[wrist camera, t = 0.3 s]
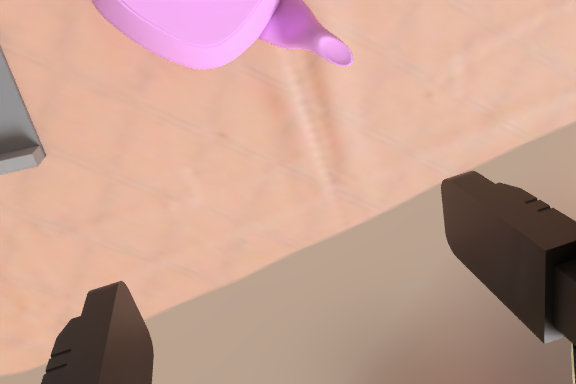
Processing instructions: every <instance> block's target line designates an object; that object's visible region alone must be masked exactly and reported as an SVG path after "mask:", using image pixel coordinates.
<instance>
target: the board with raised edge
mask: <svg viewBox="0 0 576 384" xmlns="http://www.w3.org/2000/svg"><path fill="white" fill-rule="evenodd" d="M45 156H46V154H45V152H44V149H43V147H42V145H41V142H40V140H39V137H38V135H37V133H36V130H35V128H34V125H33V123H32V121H31V118H30V116H29V113H28V111H27V109H26V106H25V104H24V101H23V99H22V97H21V94H20V92H19V90H18V87H17V85H16V82H15V80H14V78H13V75H12V73H11V70H10V68H9V66H8V63H7V61H6V58H5V56H4V54H3V51H2V49H1V47H0V175H2V174H6V173H11V172H15V171H20V170H24V169H28V168H33V167H37V166H38V165H39V164H40V163H41V161H42V160H43V159H44V158H45Z"/></svg>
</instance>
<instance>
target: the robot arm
mask: <svg viewBox="0 0 576 384" xmlns="http://www.w3.org/2000/svg"><path fill="white" fill-rule="evenodd" d="M441 193H442V202H443V213H444V223H445V233H446V238H447V241H448V244H449V246H450V248H451V250H452V251H453V253H454V255H455V256H456V257H457V258H458V259H459V260H460V261H461V262H462V263H463V264H464V265H465V266H466V267H467V268H468V269H469V270H470V271H471V272H472V273H473V274H474V275H475V276H476V277H477V278H478V279H479V280H480V281H481V282H482V283H483V284H484V285H486V287H487V288H488V289H489V290H490V291H491V292H492V293H493V294H494V295H496V296H497V298H498V299H499V300H500V301H502V302H503V304H504V305H505V306H507V307H508V308H509V309H510V310H511V311H512V312H513V313H514V314H515V315H516V316H517V317H518V318H519V319H520V320H521V321H522V322H523V323H524V324H525V325H526V326H527V327H528V328H529V329H530V330H531V331H532V332H533V333H534V334H535V335H536V336H537V337H538V338H539V339H540V340H541V341H542V342H543V343H544V344H546V343H548V342H551V341H554V340H557V339H560V338H562V337H566V338H567V339H569V340H570V341H571V342H572V351H571V353H572V354H571V357H572V374H573V384H576V221H574V220H572V219H571V218H569V217H568V216H566V215H564V214H562V213H561V212H559V211H558V210H556V209H554V208H550V206H549V205H548V204H546V203H544V202H543V201H541V200H537V198H536V197H534V196H533V195H531V194H529V193H528V192H526V191H524V190H523V189H521V188H517V187H514V186H510V185H506V184H502V183H497V184H495V183H493V182H491V181H490V180H488V179H487V178H485V177H484V176H482V175H480V174H479V173H477V172H475V171H470V172H466V173H463V174H460V175H457V176H454V177H451V178H447V179H445V180H443V181H442V184H441ZM153 357H154V355H153V345H152V340H151V337H150V334H149V331H148V329H147V327H146V325H145V322H144V320H143V318H142V316H141V314H140V312H139V310H138V308H137V306H136V304H135V302H134V300H133V298H132V296H131V293H130V291H129V289H128V287H127V286H126V284H125V283H124V282H122V281H119V282H116V283H113V284H110V285H107V286H103V287H100V288H97V289H94V290H91V291H89V292H88V294H87V297H86V301H85V304H84V307H83V311H82V314H81V316H79V317H76V318H73V319H71V320H70V321H69V323H68V324H67V325H66V326H65V328H64V329H63V330H62V331H61V333H60V334H59V335H58V337H57V338H56V341H55V344H54V347H53V350H52V353H51V359H49V362H48V365H47V368H46V374H44V376H43V379H42V382H41V384H152V372H153Z"/></svg>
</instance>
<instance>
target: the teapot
mask: <svg viewBox="0 0 576 384" xmlns="http://www.w3.org/2000/svg"><path fill="white" fill-rule="evenodd" d="M92 2H93V4H94V5H95V7H96V9H97V10H98V11H99V12H100V14H101V15H102V16H103V17H104V18H105V19H106V20H107V21H108V22H109V23H111V24H112V25H113V26H114V27H115V28H117V29H118V30H119V31H120V32H122V33H123V34H124V35H126V36H127V37H128V38H130V39H131V40H133V41H134V42H136V43H137V44H139V45H140V46H142V47H143V48H145V49H147V50H149V51H151V52H152V53H154V54H156V55H158V56H160V57H163V58H165V59H167V60H170V61H172V62H175V63H177V64H180V65H183V66H186V67H189V68H193V69H201V70H203V69H213V68H217V67H221V66H223V65H225V64H227V63H229V62H231V61H232V60H234V59H235V58H236V57H238V56H239V55H241V54H242V53H243V52H244V51H245V50H246V49H247V48H248V47H249V46H251V45H252V43H253V42H254V41H255V40H256V39H257V38H259V39H262V40H264V41H266V42H268V43H270V44H273V45H275V46H278V47H281V48H286V49H306V50H309V51H312V52H314V53H316V54H318V55H319V56H321V57H323V58H324V59H326V60H327V61H329V62H331V63H333V64H336V65H339V66H349V65H351V64H352V62H353V55H352V53H351V51H350V50H349V48H348V47H347V46H346V45H345V44H344V43H343V42H342V41H341V40H340V39H339V38H337V37H336V36H335V35H333V34H332V33H330V32H329V31H328V30H326V29H325V28H324V27H323V26H322V25H321V24H320V23H319V22H318V21H317V19H316V18H315V16H314V15H313V13H312V11H311V10H310V9H309V7H308V6H307V5H306V4H305V3H304V2H303V1H302V0H92Z"/></svg>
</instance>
